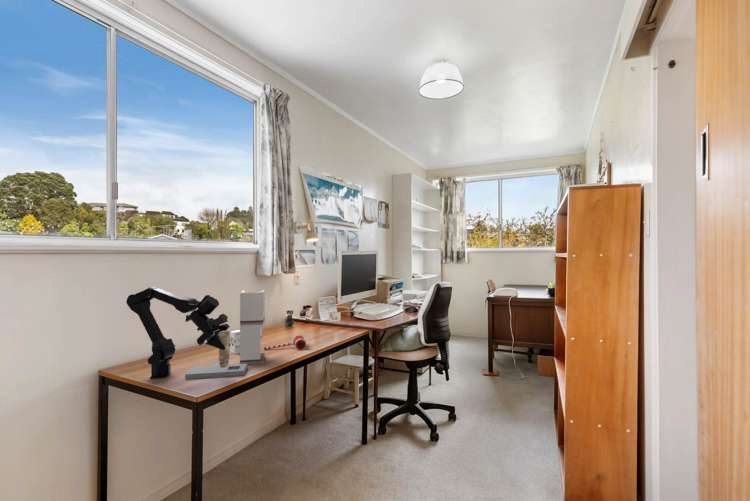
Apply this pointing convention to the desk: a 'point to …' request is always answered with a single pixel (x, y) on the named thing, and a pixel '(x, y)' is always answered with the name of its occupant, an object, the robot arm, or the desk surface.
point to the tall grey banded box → (251, 326)
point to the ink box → (235, 342)
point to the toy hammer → (297, 341)
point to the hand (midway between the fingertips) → (227, 347)
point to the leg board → (216, 371)
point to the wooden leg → (225, 353)
